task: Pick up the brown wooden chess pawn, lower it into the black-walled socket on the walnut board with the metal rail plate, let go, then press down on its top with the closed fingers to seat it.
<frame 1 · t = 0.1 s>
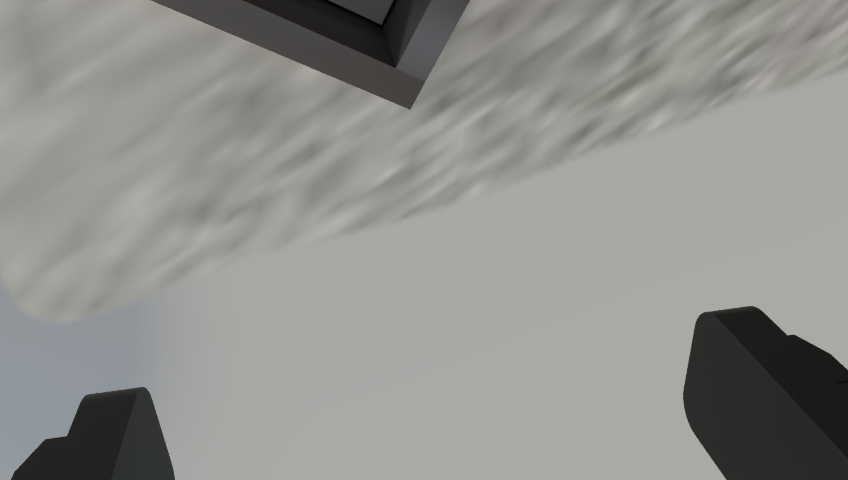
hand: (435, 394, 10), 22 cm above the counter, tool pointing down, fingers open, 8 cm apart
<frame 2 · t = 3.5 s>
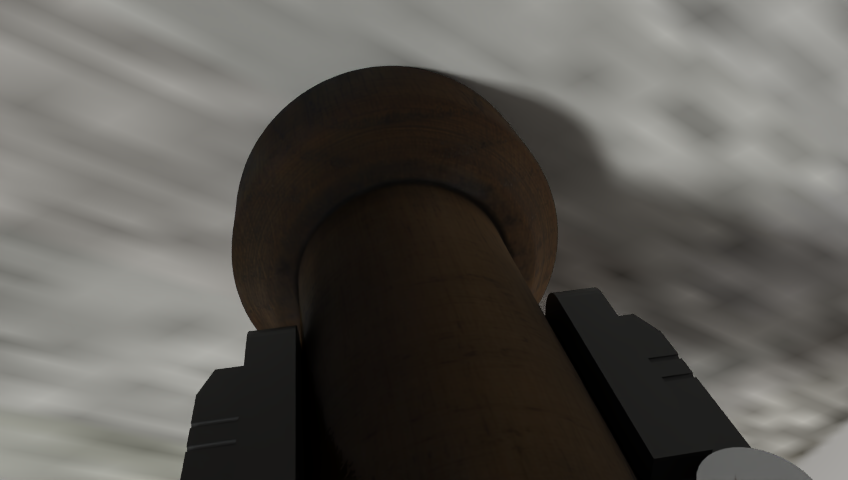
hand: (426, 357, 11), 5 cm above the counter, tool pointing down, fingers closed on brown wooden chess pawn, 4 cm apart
brown wooden chess pawn: (387, 208, 16), on the counter, touching gripper
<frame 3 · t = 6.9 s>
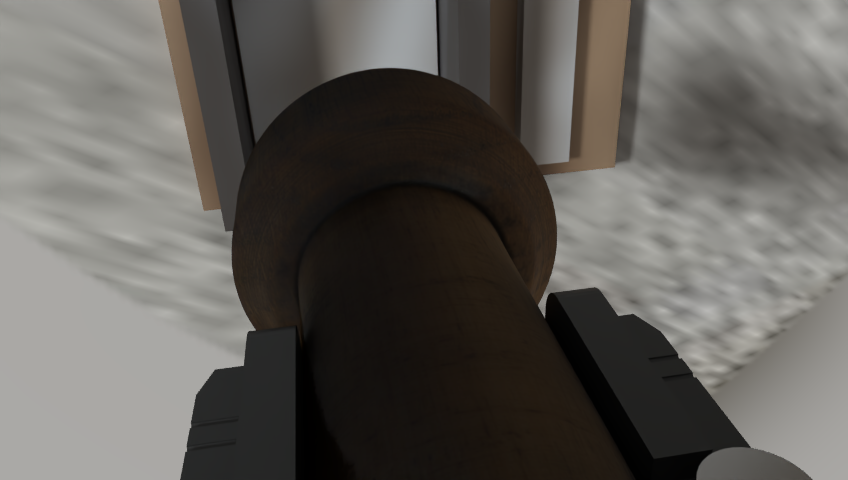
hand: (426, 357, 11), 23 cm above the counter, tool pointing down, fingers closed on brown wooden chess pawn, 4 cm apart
socket board: (404, 33, 31), on the counter
brown wooden chess pawn: (386, 209, 16), point 18 cm above the counter, touching gripper
when the fingers open (9 cm above the counter, at t = 10.6 s): brown wooden chess pawn drops 1 cm, resting on socket board.
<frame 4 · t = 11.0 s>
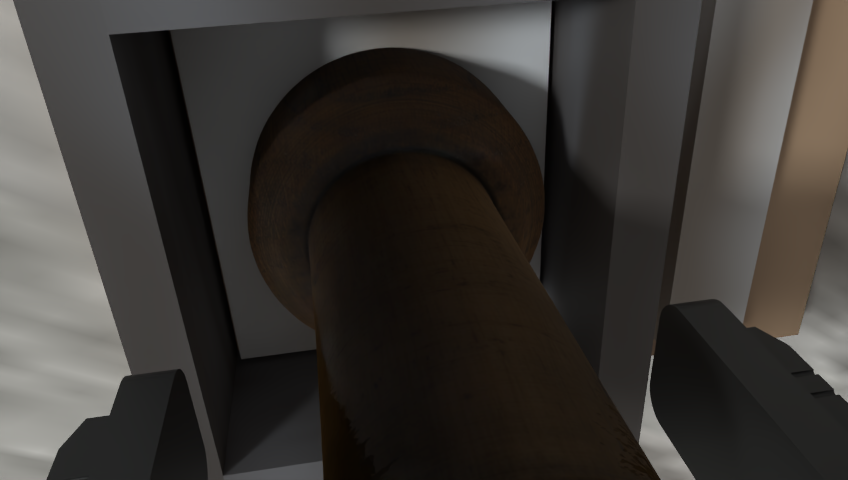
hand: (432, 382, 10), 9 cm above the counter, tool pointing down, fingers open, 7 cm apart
socket board: (481, 143, 19), on the counter
brown wooden chess pawn: (388, 181, 17), point 2 cm above the counter, touching socket board
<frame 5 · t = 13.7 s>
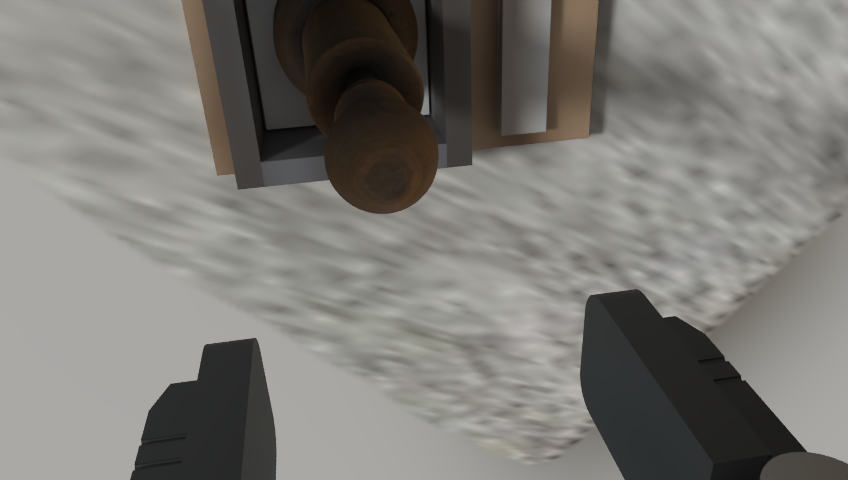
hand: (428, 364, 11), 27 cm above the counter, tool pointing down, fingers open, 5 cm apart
socket board: (397, 15, 35), on the counter
brown wooden chess pawn: (343, 27, 33), point 2 cm above the counter, touching socket board
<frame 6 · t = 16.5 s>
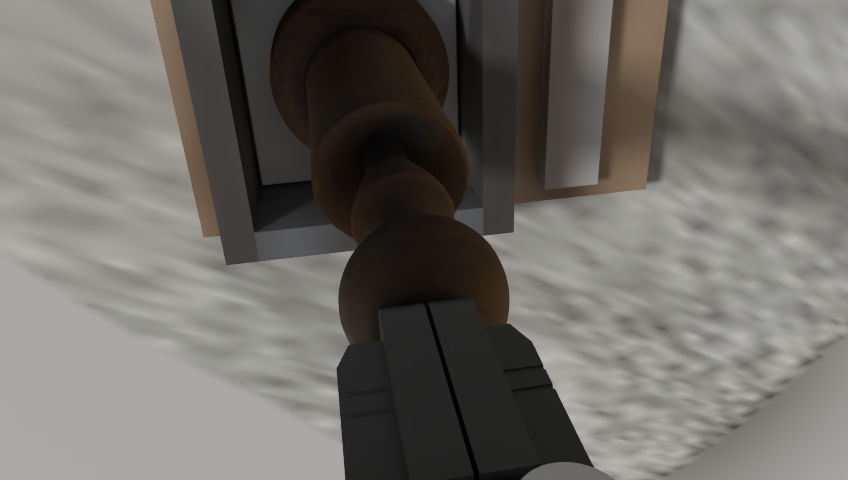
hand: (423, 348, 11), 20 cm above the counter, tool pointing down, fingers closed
socket board: (420, 46, 29), on the counter
brown wooden chess pawn: (356, 63, 27), point 2 cm above the counter, touching gripper, socket board
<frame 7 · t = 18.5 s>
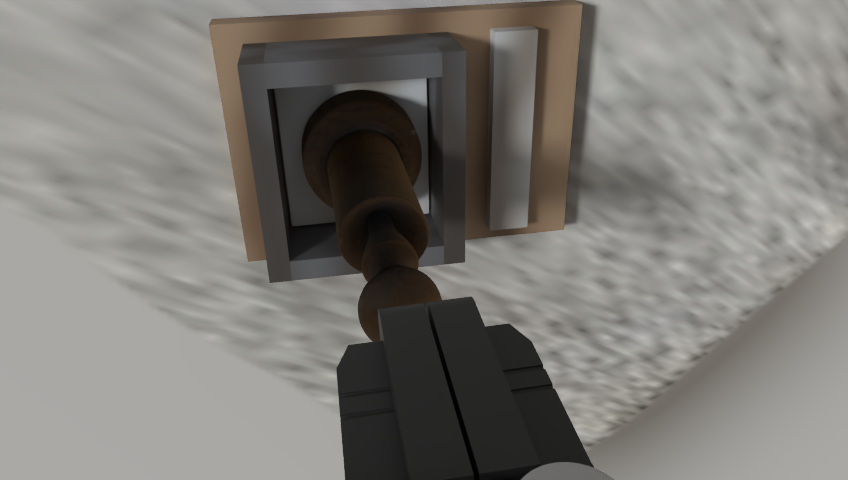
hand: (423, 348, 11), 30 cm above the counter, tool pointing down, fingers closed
socket board: (403, 130, 41), on the counter
brown wooden chess pawn: (359, 145, 39), point 2 cm above the counter, touching socket board
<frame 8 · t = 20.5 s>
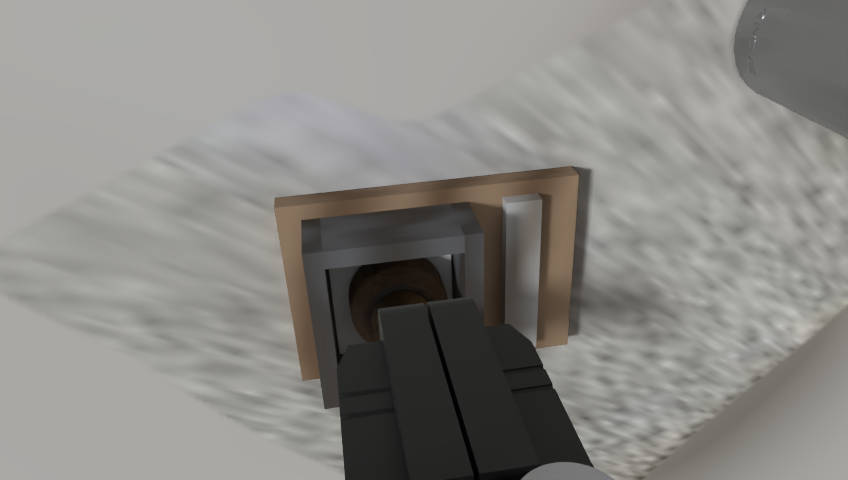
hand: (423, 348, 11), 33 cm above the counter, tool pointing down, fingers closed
socket board: (431, 271, 50), on the counter
brown wooden chess pawn: (395, 290, 48), point 2 cm above the counter, touching socket board
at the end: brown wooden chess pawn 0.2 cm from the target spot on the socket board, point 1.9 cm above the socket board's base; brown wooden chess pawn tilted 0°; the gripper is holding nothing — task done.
